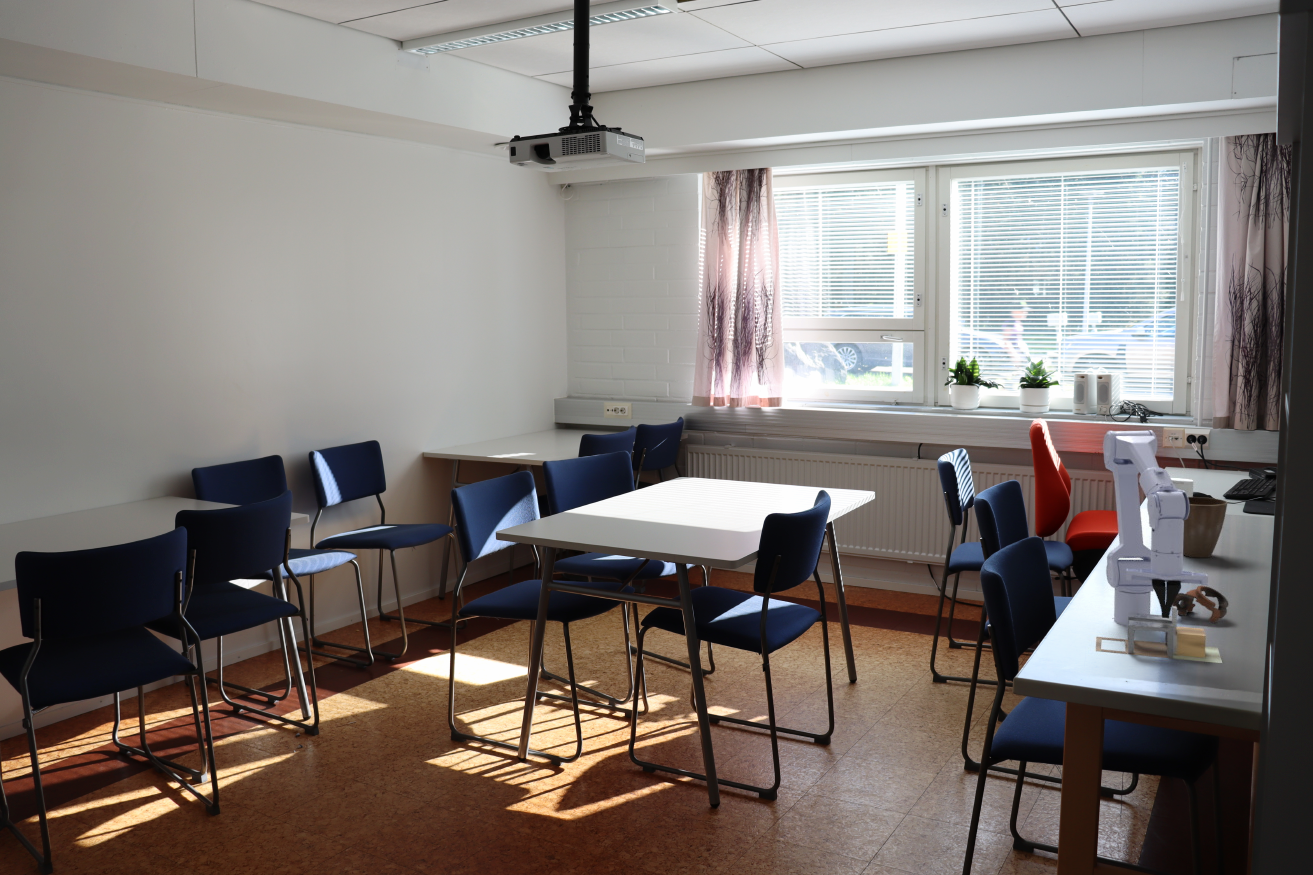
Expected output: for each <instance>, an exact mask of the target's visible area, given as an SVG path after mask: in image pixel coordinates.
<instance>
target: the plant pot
mask: <svg viewBox="0 0 1313 875" xmlns="http://www.w3.org/2000/svg"><path fill="white" fill-rule="evenodd" d="M1188 499H1189V505H1190V510H1189V515H1188V518H1187V519H1186V520H1183V521H1184V533H1183V556H1184V555H1185V556H1186V557H1188V556H1189V558H1197V559H1198V558H1199V559H1200V558H1203V559H1205V558H1210V557H1212V555H1213V552H1214V551H1215V549H1216V546H1217V543H1218V540H1219V539H1220V535H1221V532H1222V530H1223V525H1224V523H1225V517H1226V513H1227V509H1228V508H1227V507H1228V501H1227V500H1225V499H1219V498H1214V497H1213V498H1212V497H1199V496H1198V497H1197V496H1193V497H1188Z"/></svg>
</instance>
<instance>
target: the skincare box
mask: <svg viewBox="0 0 1313 875" xmlns="http://www.w3.org/2000/svg"><path fill="white" fill-rule="evenodd" d="M1170 478H1171V480H1172V482H1173V484H1174V485H1175V487H1176V489H1180V490H1181V491H1185V492H1186V494H1187V496H1188V497H1194V496H1193V495H1194V479H1191V478H1189V479H1188V478H1179V477H1177V478H1175V477H1170Z"/></svg>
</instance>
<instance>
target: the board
mask: <svg viewBox="0 0 1313 875" xmlns="http://www.w3.org/2000/svg"><path fill="white" fill-rule="evenodd" d="M1095 638H1096V639H1095V652H1102V653H1113V654H1120V655H1129V654H1128V638H1125V639H1124V638H1115V637H1114V638H1113V637H1106V636H1105V637H1103V636H1096V637H1095ZM1102 640H1104V641H1105V640H1106V641H1115V642H1124V646H1125V647H1124V650H1125V651H1124V650H1113V649H1104V648H1102ZM1130 655H1134V656H1143V657H1153V658H1163V659H1164V658H1165V659H1170V658H1169V657H1167V645H1165V642H1160V641H1159V642H1158V641H1147V640H1139V639H1138V640H1137V639H1136V640H1135V639H1134V654H1130ZM1171 659H1174V660H1183V661H1184V660H1185V661H1194V662H1207V663H1214V664H1215V663H1216V664H1223V661H1222V658H1221V655H1220V651H1219V648H1218V647H1213V646H1205V658H1204V657H1194V656H1183V655H1176V654H1173V658H1171Z"/></svg>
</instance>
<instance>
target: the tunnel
mask: <svg viewBox="0 0 1313 875" xmlns="http://www.w3.org/2000/svg"><path fill="white" fill-rule="evenodd" d="M1135 630H1138V631H1139V630H1140V631H1149V632H1150V631H1151V632H1158V633H1159V632H1160V633H1164V635H1165V637H1164V643H1165V645H1167V657H1169V658H1168V659H1172V658H1173V636H1174V628H1173V624H1172V615H1169V618H1162V614H1151V613H1150V614H1140V613H1128V626H1127V640H1128V654H1127V655H1131V654H1134V640H1135Z"/></svg>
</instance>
